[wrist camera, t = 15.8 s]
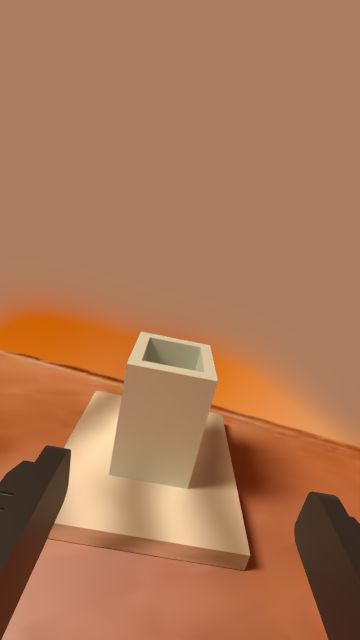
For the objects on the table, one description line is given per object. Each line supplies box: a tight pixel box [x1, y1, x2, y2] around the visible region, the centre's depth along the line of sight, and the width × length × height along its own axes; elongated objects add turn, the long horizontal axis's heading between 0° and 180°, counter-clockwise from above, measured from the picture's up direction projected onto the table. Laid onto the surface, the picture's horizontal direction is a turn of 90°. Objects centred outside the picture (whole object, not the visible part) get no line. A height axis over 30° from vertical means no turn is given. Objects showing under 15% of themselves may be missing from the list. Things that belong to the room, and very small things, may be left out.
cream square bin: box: [109, 332, 218, 489], centre depth 24 cm, size 6×6×10 cm
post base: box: [48, 391, 250, 570], centre depth 24 cm, size 15×15×8 cm
